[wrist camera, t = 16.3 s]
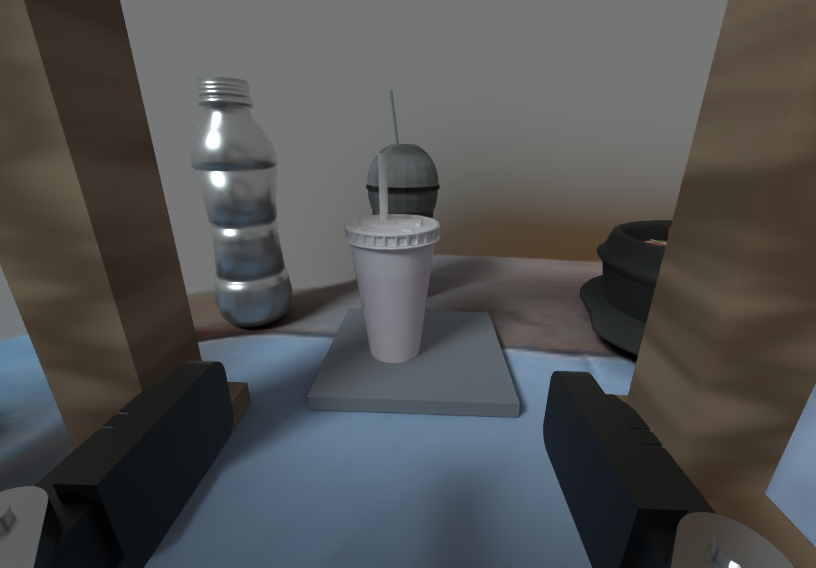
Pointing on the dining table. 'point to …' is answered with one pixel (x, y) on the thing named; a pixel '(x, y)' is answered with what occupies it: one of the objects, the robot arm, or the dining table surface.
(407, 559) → the dining table surface
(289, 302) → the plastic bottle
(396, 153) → the beverage cup
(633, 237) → the casserole
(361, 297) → the smoothie
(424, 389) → the mat
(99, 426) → the archway
